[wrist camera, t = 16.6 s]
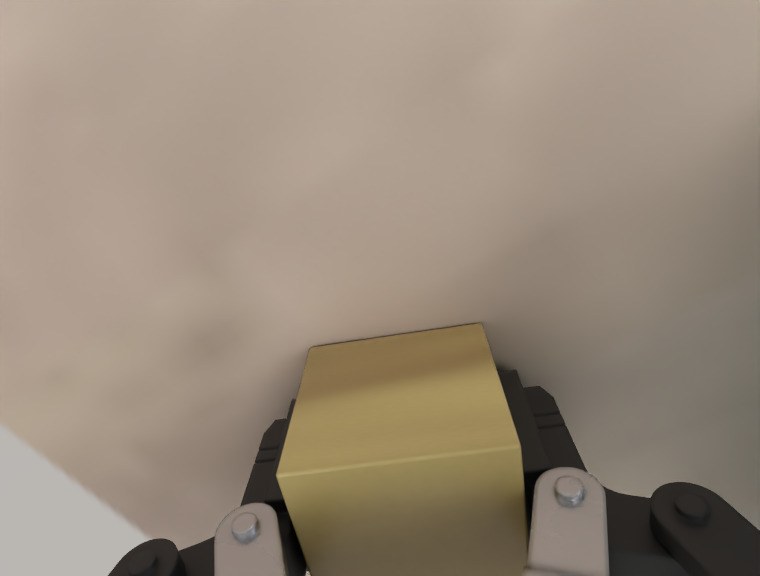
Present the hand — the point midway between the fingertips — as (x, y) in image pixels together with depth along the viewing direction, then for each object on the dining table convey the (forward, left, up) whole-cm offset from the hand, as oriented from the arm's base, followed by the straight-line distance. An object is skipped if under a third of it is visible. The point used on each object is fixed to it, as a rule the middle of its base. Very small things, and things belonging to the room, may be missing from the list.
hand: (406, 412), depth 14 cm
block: (0, 0, 0) cm, 0 cm away
